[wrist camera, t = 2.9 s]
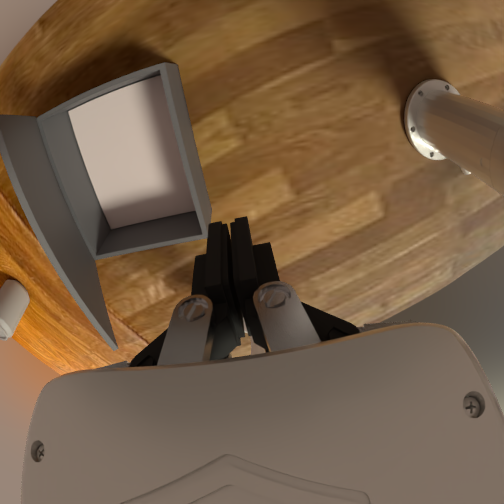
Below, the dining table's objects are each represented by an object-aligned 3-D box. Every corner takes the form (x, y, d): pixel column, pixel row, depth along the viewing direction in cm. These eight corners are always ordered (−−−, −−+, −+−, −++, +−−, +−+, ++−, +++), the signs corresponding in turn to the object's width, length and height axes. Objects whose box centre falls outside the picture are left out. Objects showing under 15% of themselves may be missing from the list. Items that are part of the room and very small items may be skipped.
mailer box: (177, 64, 26) (164, 62, 21) (211, 209, 38) (209, 237, 32) (65, 107, 27) (36, 118, 21) (110, 231, 39) (94, 260, 33)
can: (19, 275, 42) (-7, 318, 32) (36, 302, 46) (15, 344, 37) (1, 278, 42) (-24, 317, 32) (17, 302, 46) (-4, 342, 37)
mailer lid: (-3, 114, 9) (-11, 119, 9) (118, 348, 21) (112, 351, 21) (35, 116, 21) (31, 119, 21) (95, 261, 33) (91, 263, 33)
